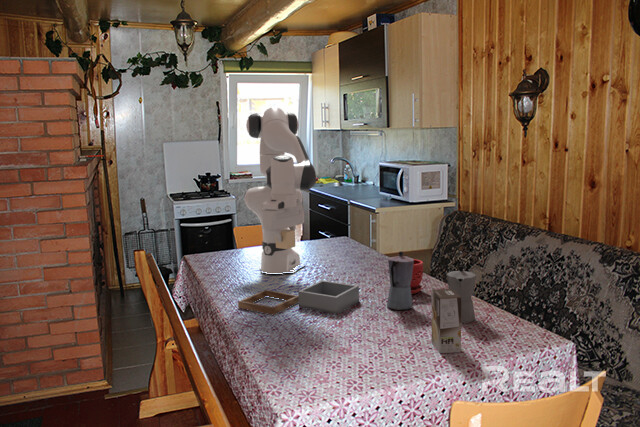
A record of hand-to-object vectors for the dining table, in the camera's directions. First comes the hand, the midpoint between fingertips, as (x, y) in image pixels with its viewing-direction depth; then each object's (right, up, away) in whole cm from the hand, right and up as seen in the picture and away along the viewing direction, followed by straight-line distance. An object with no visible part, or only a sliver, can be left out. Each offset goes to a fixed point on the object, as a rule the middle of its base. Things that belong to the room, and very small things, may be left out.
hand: (285, 240), depth 193 cm
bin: (+16, -24, +3) cm, 29 cm away
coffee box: (+49, -29, -38) cm, 68 cm away
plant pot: (+46, -21, +17) cm, 53 cm away
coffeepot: (+59, -25, -14) cm, 66 cm away
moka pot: (+41, -24, -2) cm, 47 cm away
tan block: (0, -3, 0) cm, 3 cm away
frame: (-6, -24, +4) cm, 25 cm away
